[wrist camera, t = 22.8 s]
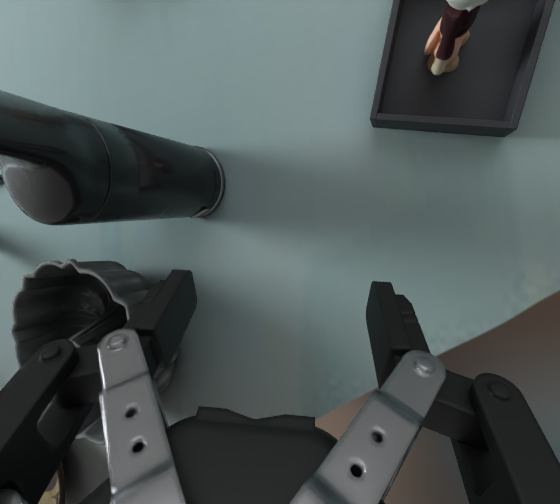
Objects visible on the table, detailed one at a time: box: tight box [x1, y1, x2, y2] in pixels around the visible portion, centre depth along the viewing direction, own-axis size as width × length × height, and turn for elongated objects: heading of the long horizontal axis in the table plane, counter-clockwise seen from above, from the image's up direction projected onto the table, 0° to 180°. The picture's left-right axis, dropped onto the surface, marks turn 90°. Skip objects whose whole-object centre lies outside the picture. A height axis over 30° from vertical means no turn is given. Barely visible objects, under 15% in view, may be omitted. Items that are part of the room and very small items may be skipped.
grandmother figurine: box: [424, 0, 488, 75], centre depth 24 cm, size 8×4×13 cm, turn 170°
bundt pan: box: [10, 259, 179, 445], centre depth 46 cm, size 26×26×10 cm
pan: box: [370, 0, 555, 137], centre depth 28 cm, size 12×14×3 cm
